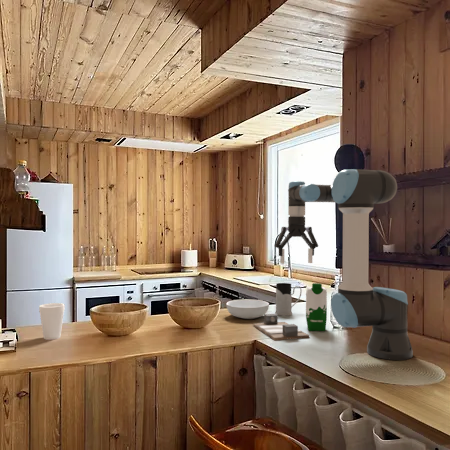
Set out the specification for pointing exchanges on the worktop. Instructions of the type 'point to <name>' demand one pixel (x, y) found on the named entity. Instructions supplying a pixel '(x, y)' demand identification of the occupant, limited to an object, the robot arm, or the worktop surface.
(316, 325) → the soya milk
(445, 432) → the worktop surface
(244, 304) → the serving bowl
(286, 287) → the white pitcher
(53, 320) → the foam cup
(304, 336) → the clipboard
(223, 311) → the worktop surface
